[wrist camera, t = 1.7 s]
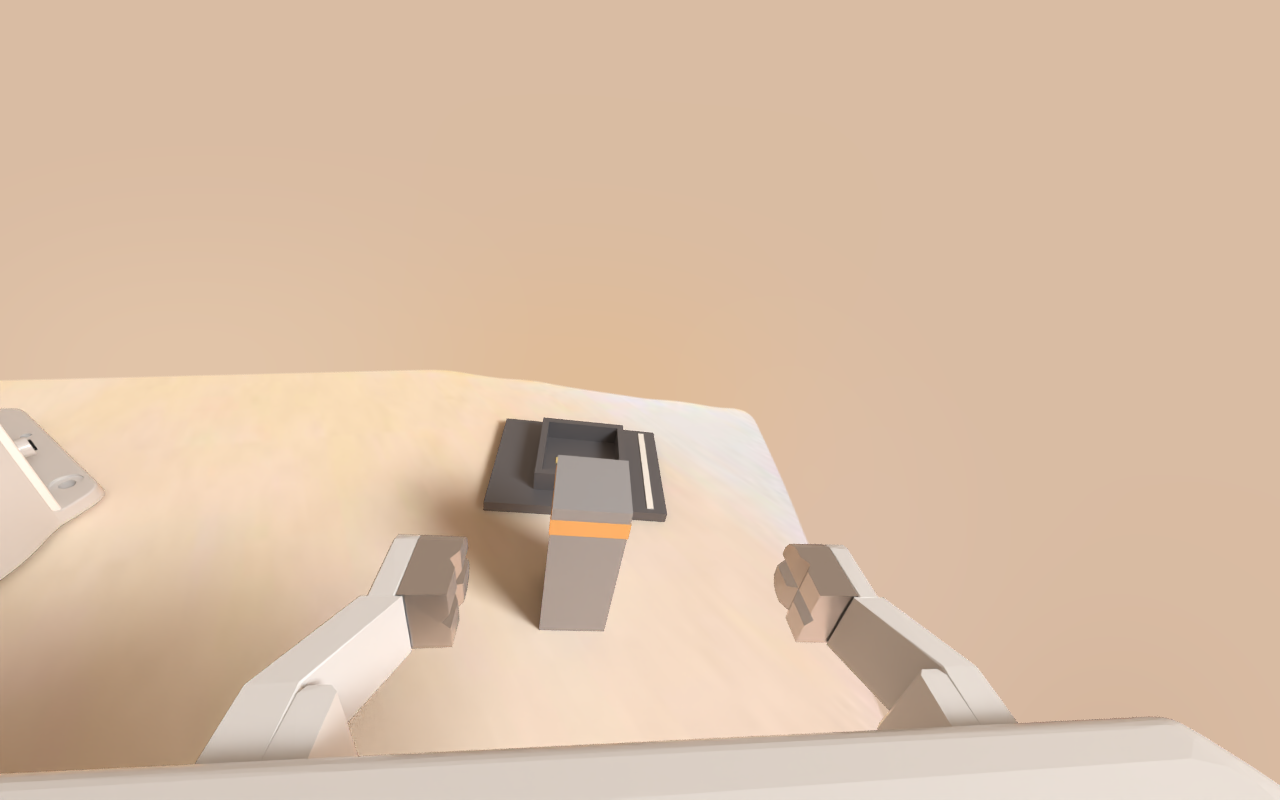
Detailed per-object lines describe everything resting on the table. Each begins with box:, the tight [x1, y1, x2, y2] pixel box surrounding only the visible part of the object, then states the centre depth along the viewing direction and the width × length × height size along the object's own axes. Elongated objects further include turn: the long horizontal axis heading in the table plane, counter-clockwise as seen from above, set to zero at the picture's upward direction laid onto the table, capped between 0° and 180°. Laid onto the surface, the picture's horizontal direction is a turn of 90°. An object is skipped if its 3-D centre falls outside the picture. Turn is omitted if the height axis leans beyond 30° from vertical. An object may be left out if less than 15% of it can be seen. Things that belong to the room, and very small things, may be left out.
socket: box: [484, 418, 667, 522], centre depth 44 cm, size 16×12×3 cm
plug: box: [539, 455, 633, 631], centre depth 30 cm, size 5×5×12 cm
